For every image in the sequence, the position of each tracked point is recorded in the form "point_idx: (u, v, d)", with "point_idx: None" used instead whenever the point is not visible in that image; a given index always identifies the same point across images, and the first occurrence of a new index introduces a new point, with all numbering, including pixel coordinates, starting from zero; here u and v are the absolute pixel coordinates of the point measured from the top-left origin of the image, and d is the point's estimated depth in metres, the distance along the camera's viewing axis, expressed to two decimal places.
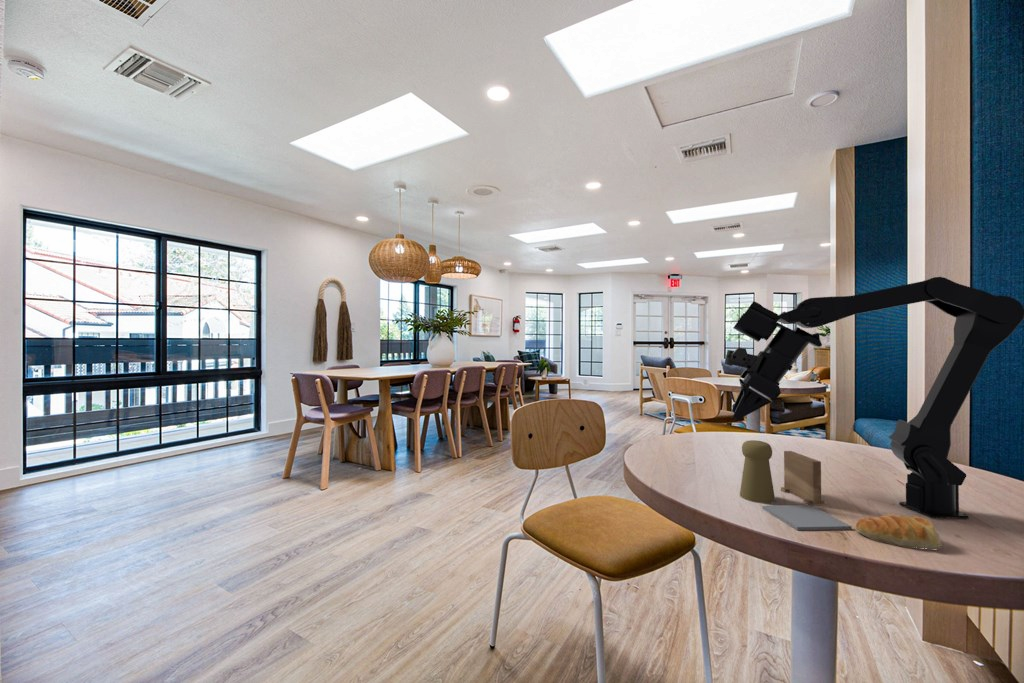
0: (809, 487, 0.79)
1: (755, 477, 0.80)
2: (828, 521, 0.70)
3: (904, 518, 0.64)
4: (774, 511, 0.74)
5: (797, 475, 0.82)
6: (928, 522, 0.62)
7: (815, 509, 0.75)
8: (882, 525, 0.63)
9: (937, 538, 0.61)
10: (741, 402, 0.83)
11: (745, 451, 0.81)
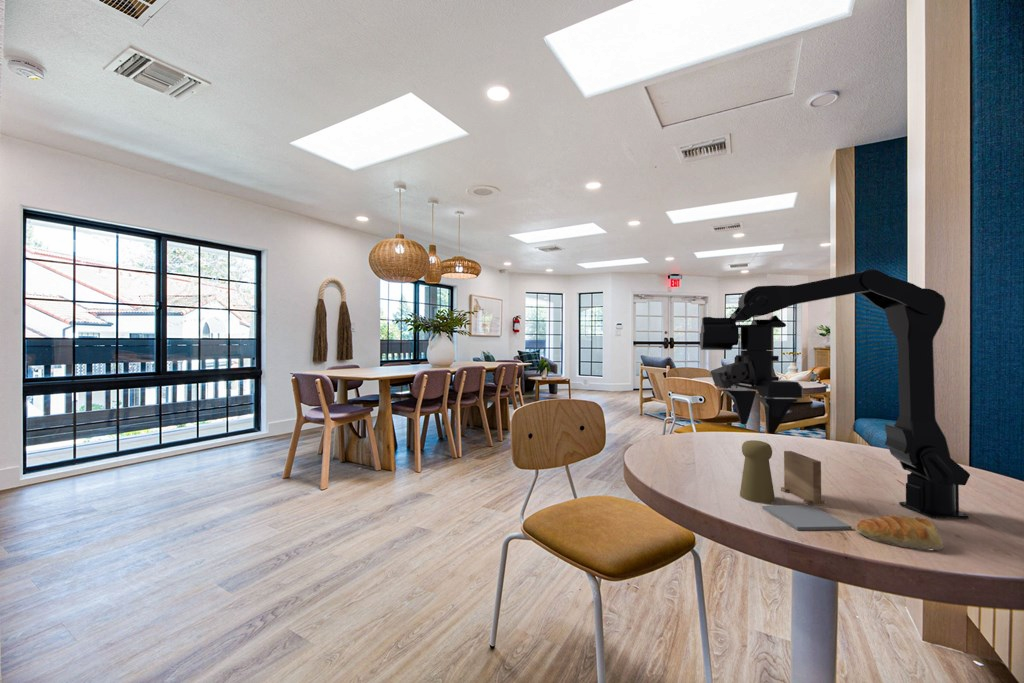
0: (809, 487, 0.79)
1: (755, 477, 0.80)
2: (828, 521, 0.70)
3: (905, 519, 0.64)
4: (774, 511, 0.74)
5: (797, 475, 0.82)
6: (929, 523, 0.62)
7: (815, 509, 0.75)
8: (884, 526, 0.63)
9: (939, 539, 0.61)
10: (770, 415, 0.78)
11: (745, 451, 0.81)
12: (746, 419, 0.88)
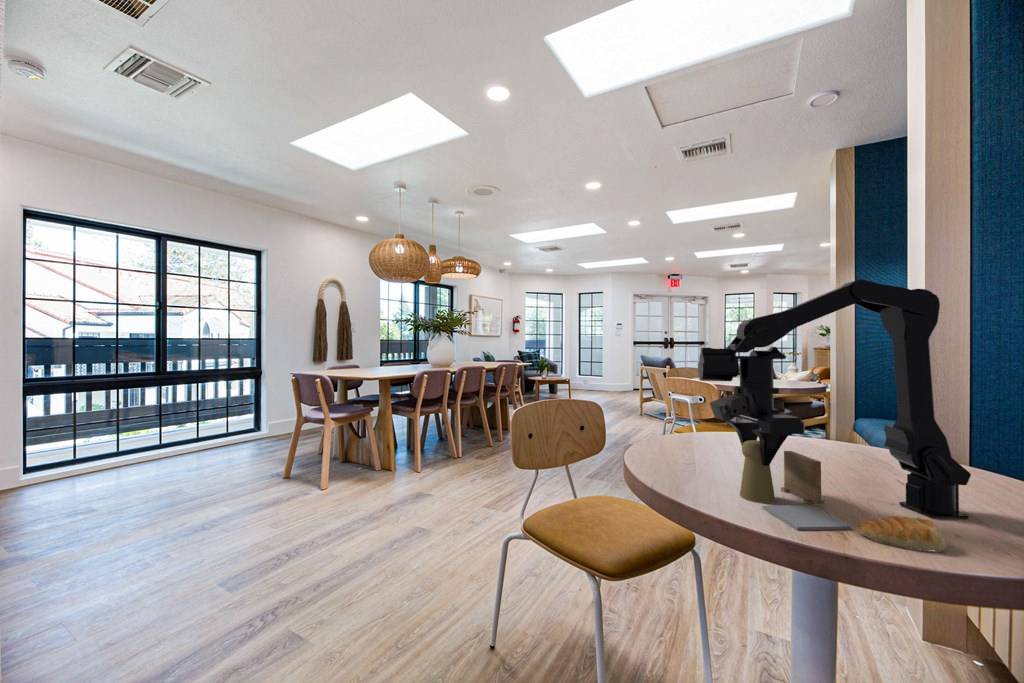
0: (809, 487, 0.79)
1: (755, 477, 0.80)
2: (828, 521, 0.70)
3: (908, 520, 0.63)
4: (774, 511, 0.74)
5: (797, 475, 0.82)
6: (932, 523, 0.62)
7: (815, 509, 0.75)
8: (886, 527, 0.63)
9: (941, 540, 0.60)
10: (765, 448, 0.78)
11: (745, 451, 0.81)
12: None
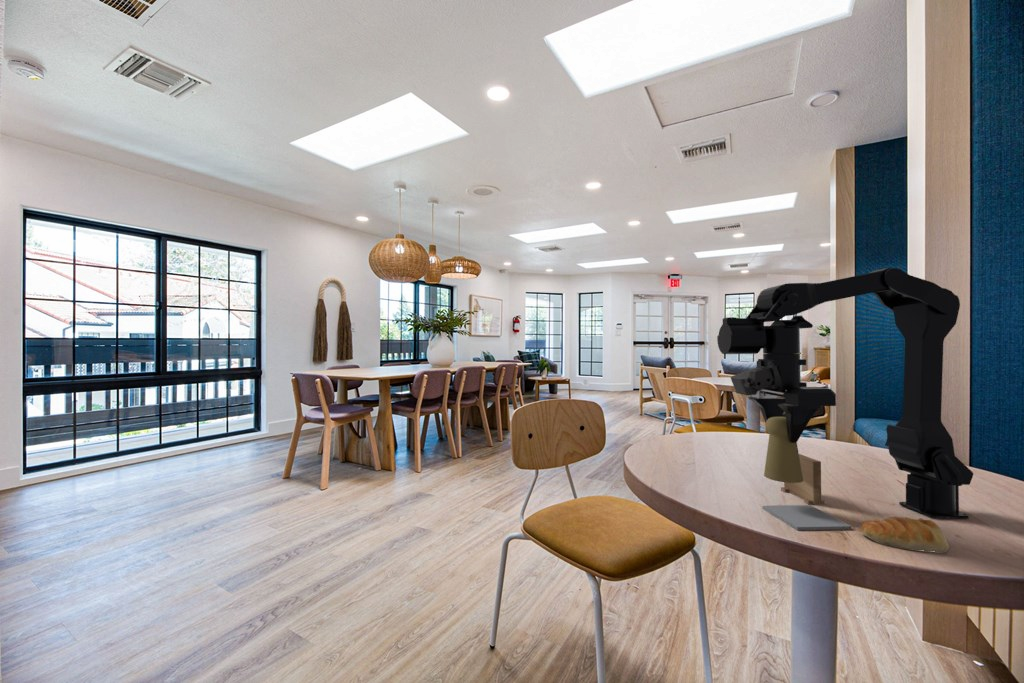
0: (809, 487, 0.79)
1: (781, 455, 0.74)
2: (828, 521, 0.70)
3: (910, 520, 0.63)
4: (774, 511, 0.74)
5: None
6: (934, 524, 0.62)
7: (815, 509, 0.75)
8: (889, 528, 0.62)
9: (944, 541, 0.60)
10: (792, 423, 0.72)
11: (769, 427, 0.76)
12: None
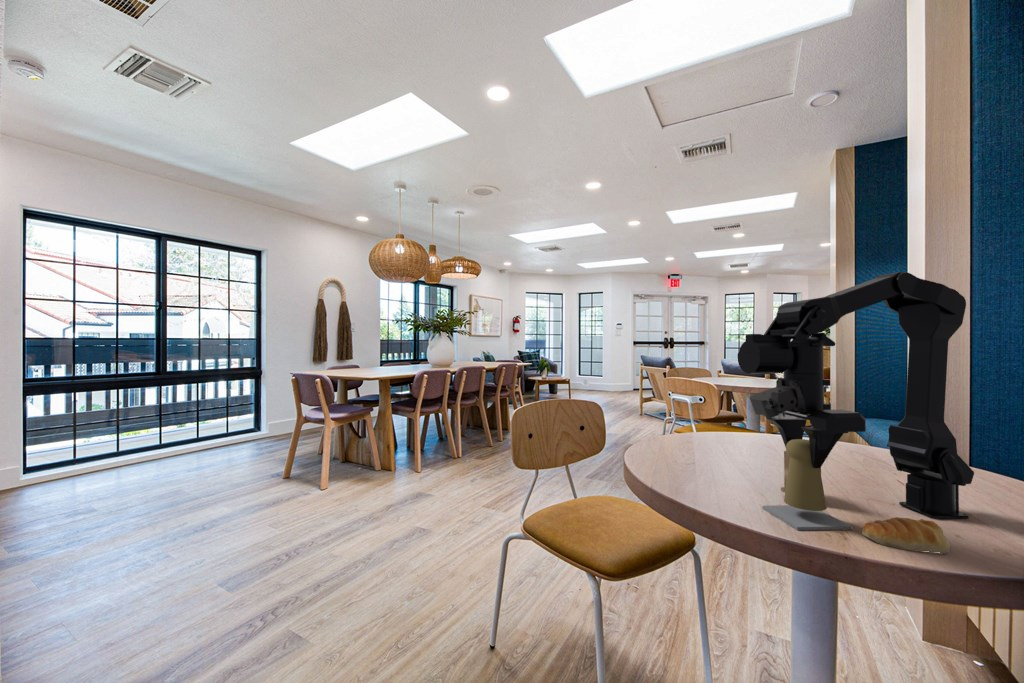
0: None
1: (803, 481, 0.70)
2: (828, 521, 0.70)
3: (911, 521, 0.63)
4: (774, 511, 0.74)
5: None
6: (936, 525, 0.61)
7: None
8: (891, 530, 0.62)
9: (946, 542, 0.60)
10: (816, 448, 0.68)
11: (791, 451, 0.72)
12: None
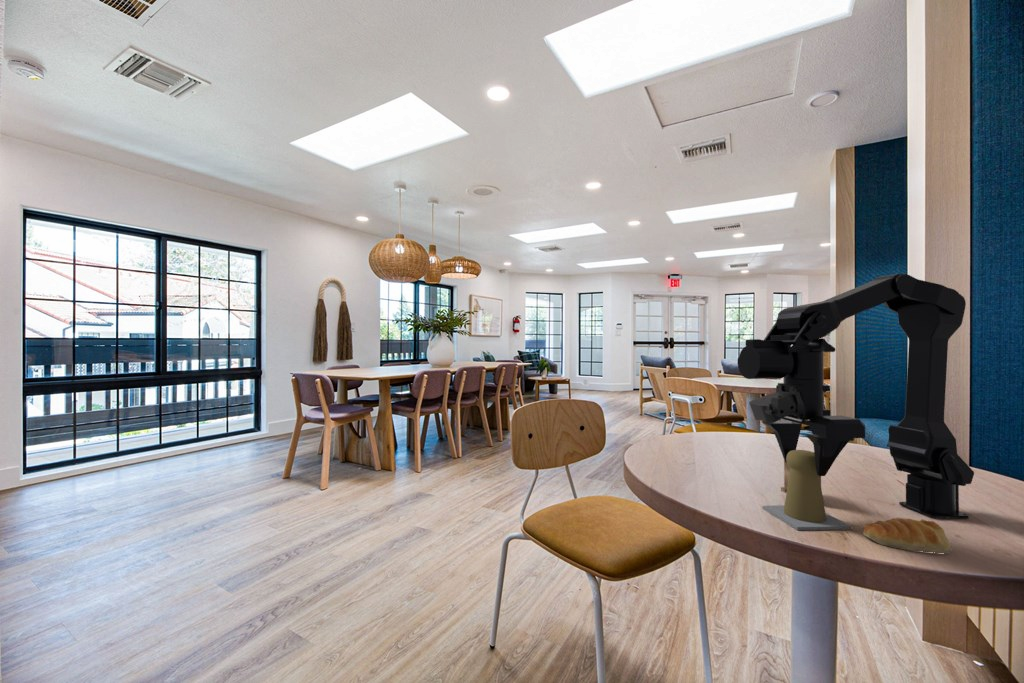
0: None
1: (803, 492, 0.70)
2: (828, 521, 0.70)
3: (913, 522, 0.62)
4: (774, 511, 0.74)
5: None
6: (937, 526, 0.61)
7: None
8: (892, 530, 0.62)
9: (947, 542, 0.60)
10: (821, 455, 0.67)
11: (791, 462, 0.72)
12: None
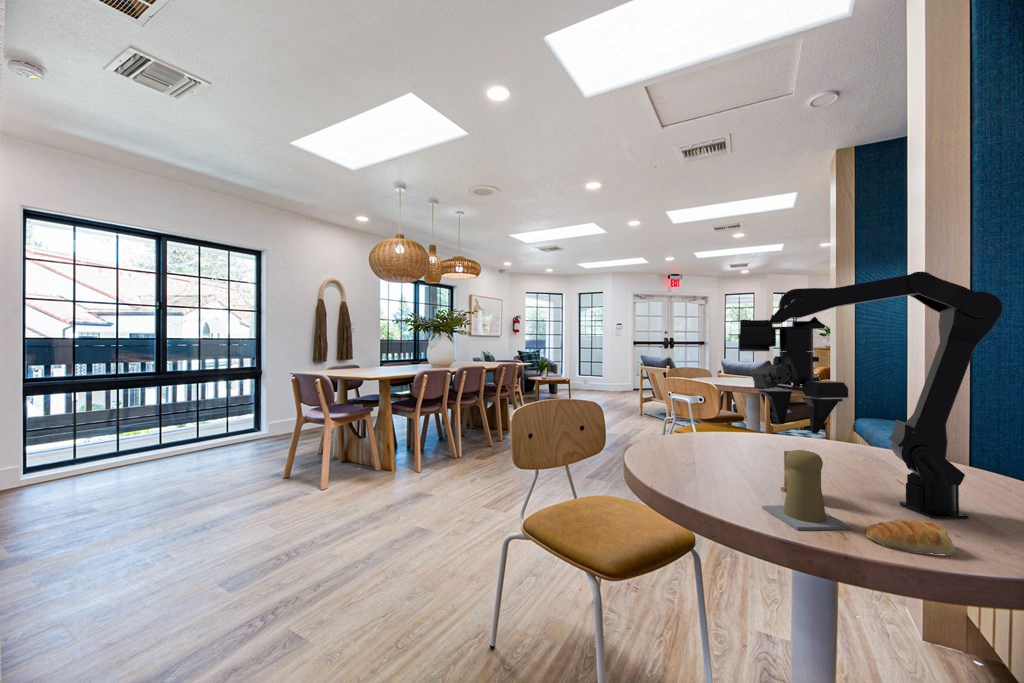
0: None
1: (803, 493, 0.70)
2: (828, 521, 0.70)
3: (916, 523, 0.62)
4: (774, 511, 0.74)
5: None
6: (940, 527, 0.61)
7: None
8: (896, 532, 0.61)
9: (951, 543, 0.59)
10: (815, 415, 0.79)
11: (791, 462, 0.72)
12: (783, 419, 0.89)
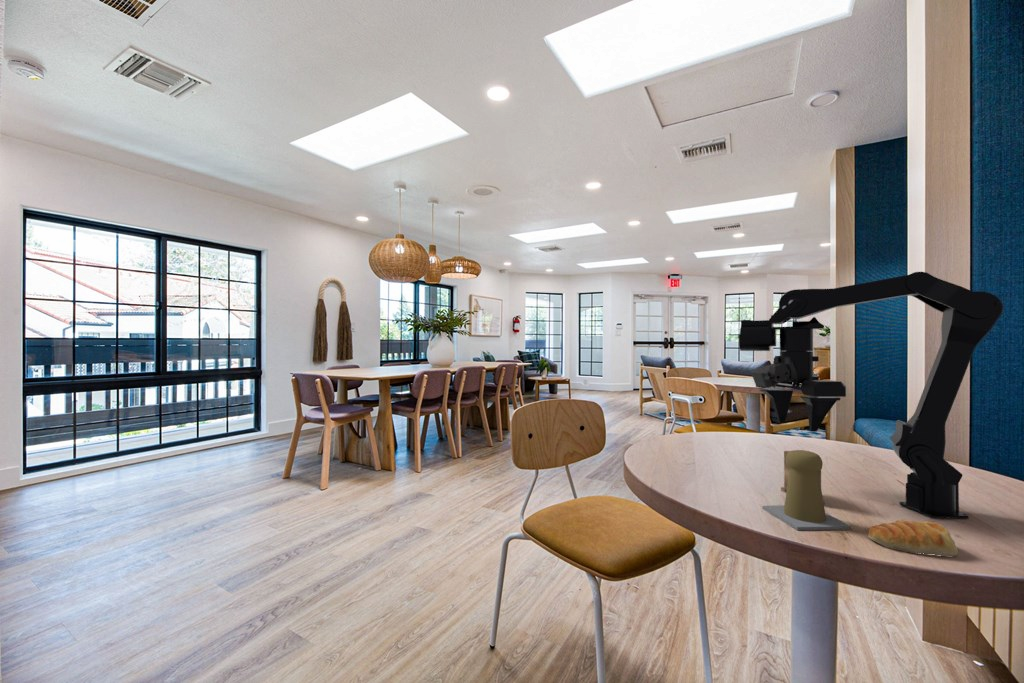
0: None
1: (803, 493, 0.70)
2: (828, 521, 0.70)
3: (918, 524, 0.62)
4: (774, 511, 0.74)
5: None
6: (942, 528, 0.61)
7: None
8: (898, 533, 0.61)
9: (953, 545, 0.59)
10: (813, 413, 0.81)
11: (791, 462, 0.72)
12: (784, 418, 0.91)
